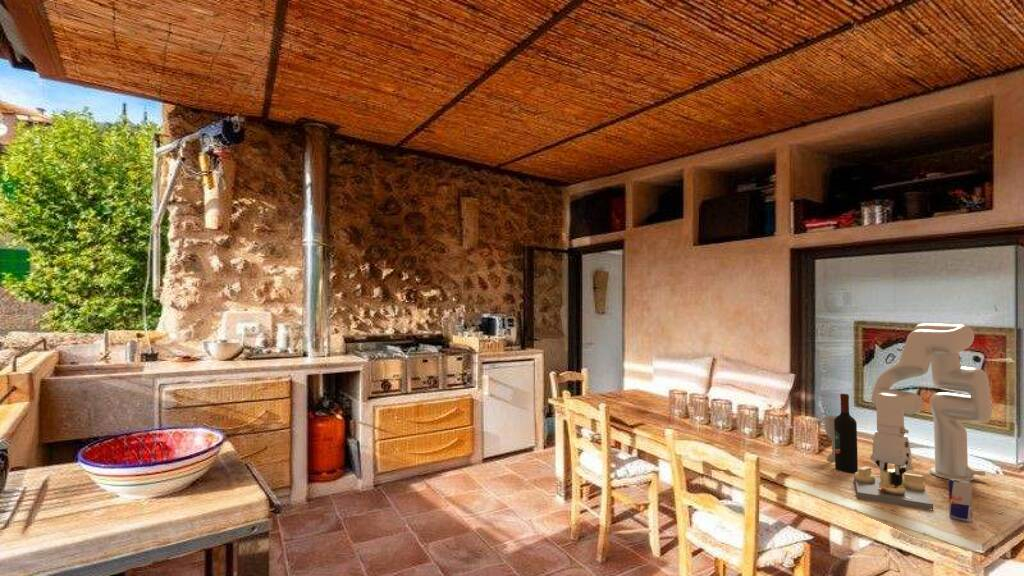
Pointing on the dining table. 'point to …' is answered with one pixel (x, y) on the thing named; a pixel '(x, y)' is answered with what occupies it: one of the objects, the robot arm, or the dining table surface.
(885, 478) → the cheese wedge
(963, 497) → the energy drink
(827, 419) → the chalice
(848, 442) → the wine bottle
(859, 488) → the base
